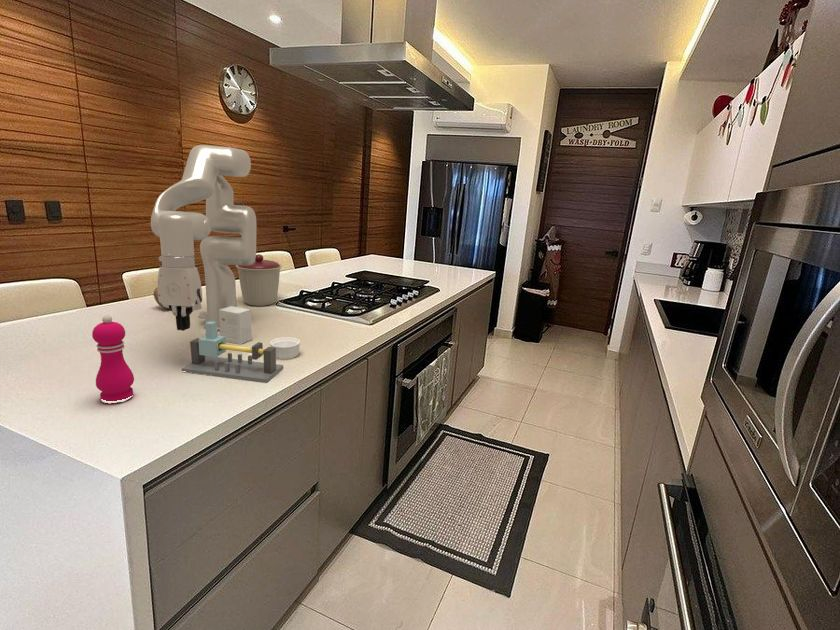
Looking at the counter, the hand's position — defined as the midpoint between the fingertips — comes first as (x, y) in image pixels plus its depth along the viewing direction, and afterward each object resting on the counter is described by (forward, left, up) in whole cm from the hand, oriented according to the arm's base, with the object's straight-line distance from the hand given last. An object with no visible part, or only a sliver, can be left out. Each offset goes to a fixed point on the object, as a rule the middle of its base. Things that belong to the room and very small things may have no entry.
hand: (183, 329), depth 118 cm
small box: (+2, +22, -11) cm, 25 cm away
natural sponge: (-40, +46, -11) cm, 62 cm away
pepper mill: (-2, -22, -11) cm, 24 cm away
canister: (-13, +67, -11) cm, 70 cm away
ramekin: (+22, +15, -11) cm, 29 cm away
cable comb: (+14, 0, -11) cm, 17 cm away
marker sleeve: (+8, 0, -6) cm, 10 cm away
